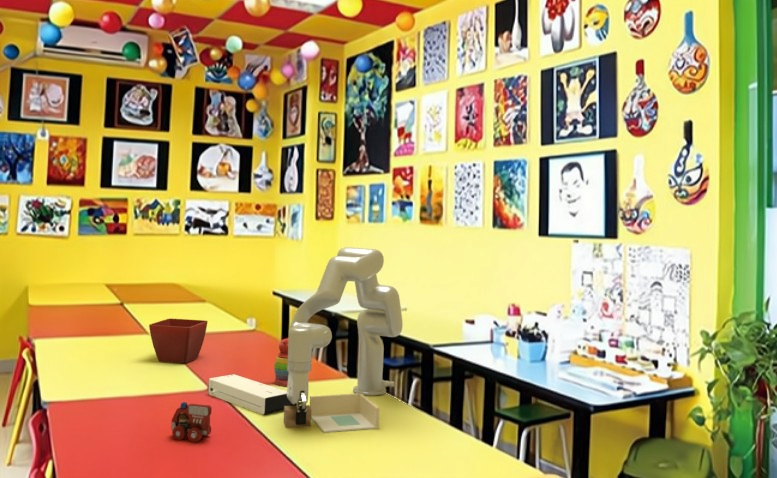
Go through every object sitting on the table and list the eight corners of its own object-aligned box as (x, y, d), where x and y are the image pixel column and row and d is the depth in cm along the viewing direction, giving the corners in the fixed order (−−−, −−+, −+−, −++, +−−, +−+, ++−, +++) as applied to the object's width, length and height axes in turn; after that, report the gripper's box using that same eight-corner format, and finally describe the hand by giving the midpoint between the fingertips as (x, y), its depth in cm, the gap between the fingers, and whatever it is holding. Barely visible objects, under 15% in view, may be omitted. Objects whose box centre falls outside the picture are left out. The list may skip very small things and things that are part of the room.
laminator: (291, 410, 232) (291, 392, 231) (262, 417, 223) (262, 398, 222) (233, 390, 255) (234, 374, 254) (205, 395, 246) (205, 378, 245)
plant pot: (146, 362, 292) (147, 324, 291) (168, 354, 311) (169, 317, 310) (188, 366, 289) (189, 327, 288) (207, 357, 308) (208, 320, 307)
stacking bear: (294, 387, 260) (295, 341, 260) (269, 385, 262) (271, 339, 262) (303, 381, 271) (305, 337, 270) (279, 379, 273) (281, 335, 272)
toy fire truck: (179, 431, 204) (180, 397, 204) (216, 437, 200) (217, 402, 200) (165, 438, 197) (166, 403, 197) (203, 444, 194) (204, 408, 193)
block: (308, 422, 219) (309, 405, 219) (310, 426, 214) (311, 409, 214) (283, 422, 217) (284, 406, 216) (285, 427, 212) (286, 410, 212)
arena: (360, 412, 231) (361, 393, 231) (378, 428, 215) (379, 407, 214) (309, 415, 225) (310, 396, 225) (323, 432, 208) (324, 411, 208)
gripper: (281, 360, 221) (280, 413, 222) (293, 372, 205) (291, 429, 206) (304, 359, 224) (302, 411, 225) (317, 371, 208) (315, 427, 208)
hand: (297, 419), depth 215 cm, fingers open, 8 cm apart
